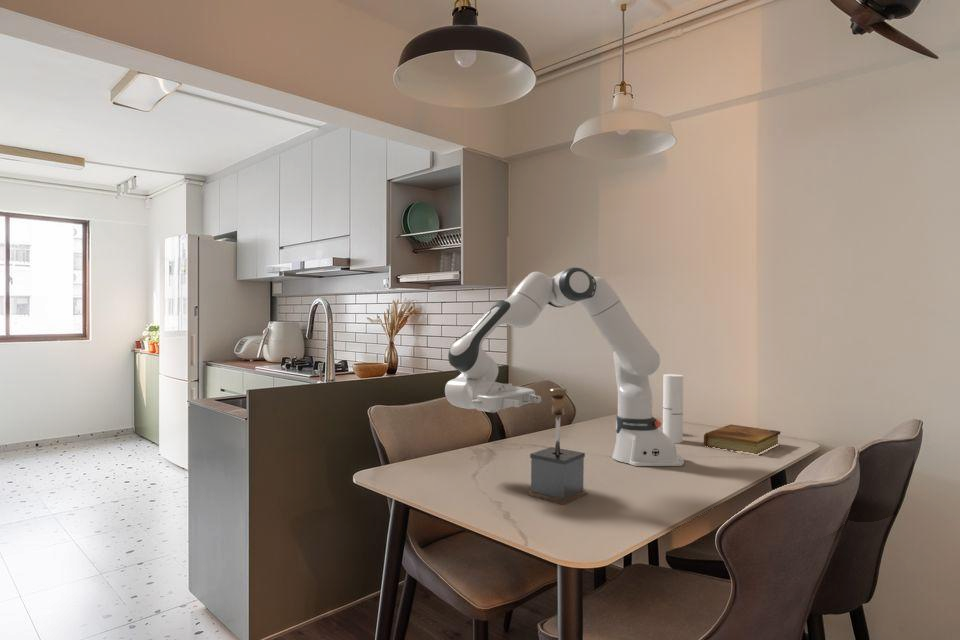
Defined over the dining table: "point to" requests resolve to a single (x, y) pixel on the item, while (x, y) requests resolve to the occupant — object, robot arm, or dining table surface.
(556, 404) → the plunger
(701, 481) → the dining table surface
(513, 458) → the dining table surface
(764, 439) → the diary
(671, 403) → the cylindrical container
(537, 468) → the grey box
